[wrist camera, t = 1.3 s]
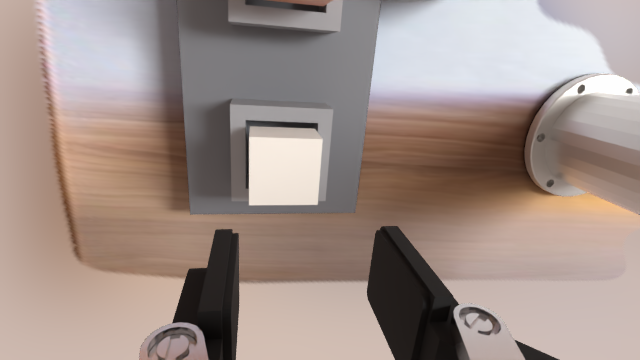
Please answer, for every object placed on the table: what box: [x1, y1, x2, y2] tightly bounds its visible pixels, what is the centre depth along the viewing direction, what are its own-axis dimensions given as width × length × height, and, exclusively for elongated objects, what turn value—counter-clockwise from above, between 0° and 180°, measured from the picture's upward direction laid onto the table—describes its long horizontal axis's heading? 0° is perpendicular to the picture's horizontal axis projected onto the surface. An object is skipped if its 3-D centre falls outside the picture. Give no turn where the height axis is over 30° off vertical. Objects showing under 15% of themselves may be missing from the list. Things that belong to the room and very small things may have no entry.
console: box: [177, 0, 381, 214], centre depth 25 cm, size 14×24×6 cm, turn 176°
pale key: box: [249, 126, 323, 205], centre depth 23 cm, size 4×4×3 cm
